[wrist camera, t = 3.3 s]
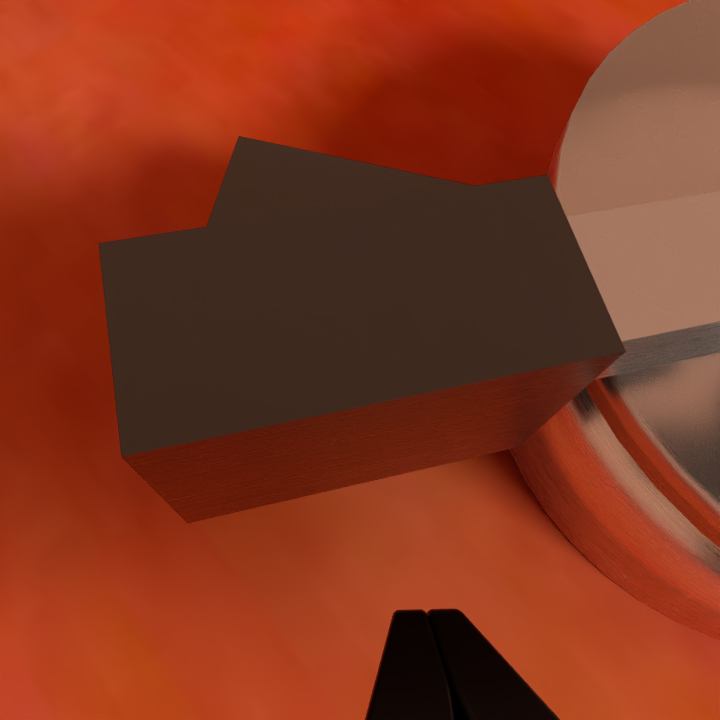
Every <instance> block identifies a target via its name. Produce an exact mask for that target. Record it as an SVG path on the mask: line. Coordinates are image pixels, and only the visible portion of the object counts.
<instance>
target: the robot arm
mask: <svg viewBox="0 0 720 720" xmlns="http://www.w3.org/2000/svg"><path fill="white" fill-rule="evenodd" d="M365 720H560V719H559V718H558V717H557V716H556V715H555V714H554V712H553V711H552V710H551V709H550V708H549V707H548V706H547V705H546V704H545V703H544V701H543V700H542V699H541V698H540V697H539V696H538V695H537V694H536V693H535V692H534V690H533V689H532V688H531V687H530V686H529V685H528V684H527V683H526V682H525V681H524V680H523V678H522V677H521V676H520V675H519V674H518V673H517V672H516V671H515V670H514V669H513V667H512V666H511V665H510V664H509V663H508V662H507V661H506V660H505V659H504V658H503V656H502V655H501V654H500V653H499V652H498V651H497V650H496V649H495V648H494V647H493V646H492V644H491V643H490V642H489V641H488V640H487V639H486V638H485V637H484V636H483V635H482V633H481V632H480V631H479V630H478V629H477V628H476V627H475V626H474V625H473V624H472V622H471V621H470V620H469V619H468V618H467V617H466V616H465V615H464V614H463V613H462V612H461V611H460V610H458V609H431V610H429V611H428V612H427V613H426V612H425V611H424V610H421V609H415V610H397V611H395V612H394V614H393V616H392V620H391V624H390V627H389V631H388V635H387V639H386V642H385V646H384V650H383V654H382V657H381V661H380V665H379V669H378V673H377V676H376V680H375V684H374V688H373V691H372V695H371V699H370V703H369V707H368V710H367V714H366V718H365Z"/></svg>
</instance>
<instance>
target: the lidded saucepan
mask: <svg viewBox="0 0 720 720" xmlns="http://www.w3.org/2000/svg"><path fill="white" fill-rule="evenodd" d="M99 251H100V260H101V269H102V279H103V288H104V297H105V307H106V316H107V325H108V335H109V344H110V353H111V362H112V372H113V381H114V390H115V400H116V409H117V418H118V428H119V437H120V446H121V456H122V458H123V459H124V460H125V461H126V462H127V463H128V464H129V465H130V466H131V467H132V468H133V469H134V470H135V471H136V472H137V473H138V474H139V475H140V476H141V477H142V478H143V479H144V480H145V481H146V482H147V483H148V484H149V485H150V486H151V487H152V488H153V489H154V490H155V491H156V492H157V493H158V494H159V495H160V496H161V497H162V498H163V499H164V500H165V501H166V502H167V503H168V504H169V505H170V506H171V507H172V508H173V509H174V510H175V511H176V512H177V513H178V514H179V515H180V516H181V517H182V518H183V519H184V520H185V521H186V522H187V523H191V522H195V521H199V520H204V519H208V518H212V517H217V516H221V515H225V514H230V513H234V512H239V511H243V510H247V509H252V508H256V507H260V506H265V505H269V504H273V503H278V502H282V501H286V500H291V499H295V498H299V497H304V496H308V495H313V494H317V493H321V492H326V491H330V490H334V489H339V488H343V487H347V486H352V485H356V484H360V483H365V482H369V481H373V480H378V479H382V478H387V477H391V476H395V475H400V474H404V473H408V472H413V471H417V470H421V469H426V468H430V467H434V466H439V465H443V464H447V463H452V462H456V461H460V460H465V459H469V458H474V457H478V456H482V455H487V454H491V453H495V452H500V451H504V450H508V449H513V448H517V447H519V446H520V445H521V444H522V443H524V442H525V441H526V440H527V439H528V438H529V437H530V436H531V435H533V434H534V433H535V432H536V431H537V430H538V429H539V428H540V427H542V426H543V425H544V424H545V423H546V422H547V421H548V420H549V419H551V418H552V417H553V416H554V415H555V414H556V413H557V412H558V411H560V410H561V409H562V408H563V407H564V406H565V405H566V404H567V403H569V402H570V401H571V400H572V399H573V398H574V397H575V396H576V395H578V394H579V393H580V392H581V391H582V390H583V389H584V388H586V390H587V392H588V393H589V395H590V397H591V398H592V400H593V401H594V403H595V405H596V406H597V408H598V409H599V411H600V413H601V414H602V416H603V417H604V419H605V420H606V422H607V424H608V425H609V427H610V428H611V430H612V432H613V433H614V435H615V436H616V438H617V439H618V441H619V442H620V443H621V444H622V446H623V447H624V448H625V450H626V451H627V452H628V453H629V455H630V456H631V457H632V458H633V460H634V461H635V462H636V463H637V465H638V466H639V467H640V468H641V470H642V471H643V472H644V473H645V475H646V476H647V477H648V478H649V480H650V481H651V482H652V483H653V485H654V486H655V487H656V488H657V489H658V490H659V491H660V492H661V493H662V494H663V495H664V496H665V497H666V498H667V499H668V500H669V501H670V502H671V503H672V504H673V505H674V506H675V507H676V508H677V509H678V510H679V511H680V512H681V513H682V514H683V515H684V516H685V517H686V518H687V519H688V520H689V521H690V522H691V523H692V524H693V525H694V526H695V527H696V528H697V529H698V530H699V531H700V532H701V533H702V534H703V535H704V536H706V537H707V538H708V539H709V540H711V541H712V542H713V543H714V544H715V545H717V546H718V547H719V548H720V0H689V1H687V2H685V3H683V4H681V5H678V6H676V7H674V8H672V9H669V10H667V11H665V12H663V13H660V14H659V15H657V16H656V17H654V18H653V19H651V20H649V21H648V22H646V23H645V24H643V25H642V26H640V27H639V28H637V29H636V30H634V31H633V32H631V33H630V34H629V35H628V36H627V37H626V38H625V39H624V40H623V41H622V42H621V43H619V44H618V45H617V46H616V47H615V48H614V49H613V50H612V51H611V52H610V53H609V54H608V55H607V56H606V58H605V59H604V60H603V62H602V63H601V64H600V66H599V67H598V68H597V69H596V71H595V72H594V73H593V75H592V76H591V77H590V79H589V80H588V82H587V84H586V86H585V88H584V90H583V92H582V94H581V96H580V98H579V100H578V102H577V104H576V106H575V108H574V110H573V112H572V114H571V116H570V118H569V119H568V121H567V123H566V125H565V127H564V129H563V131H562V133H561V135H560V137H559V139H558V141H557V143H556V145H555V148H554V151H553V154H552V158H551V161H550V164H549V168H548V171H547V174H546V175H543V176H536V177H530V178H523V179H516V180H510V181H503V182H497V183H490V184H484V185H477V186H471V187H464V188H458V189H451V190H444V191H438V192H431V193H425V194H418V195H412V196H405V197H399V198H392V199H385V200H379V201H372V202H366V203H359V204H353V205H346V206H340V207H333V208H327V209H320V210H313V211H307V212H300V213H294V214H287V215H281V216H274V217H268V218H261V219H255V220H248V221H241V222H235V223H228V224H222V225H215V226H209V227H202V228H196V229H189V230H183V231H176V232H169V233H163V234H156V235H150V236H143V237H137V238H130V239H124V240H117V241H111V242H104V243H99Z"/></svg>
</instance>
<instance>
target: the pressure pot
mask: <svg viewBox="0 0 720 720" xmlns="http://www.w3.org/2000/svg"><path fill="white" fill-rule="evenodd" d="M471 186H473V185H468V184H463V183H458V182H454V181H449V180H444V179H440V178H435V177H430V176H425V175H421V174H416V173H411V172H406V171H402V170H397V169H392V168H387V167H383V166H378V165H373V164H369V163H364V162H359V161H354V160H350V159H345V158H340V157H335V156H331V155H326V154H321V153H316V152H312V151H307V150H302V149H298V148H293V147H288V146H283V145H279V144H274V143H269V142H264V141H260V140H255V139H250V138H245V137H241V136H239V137H238V140H237V143H236V146H235V148H234V151H233V154H232V157H231V160H230V162H229V165H228V168H227V171H226V174H225V176H224V179H223V182H222V185H221V188H220V190H219V193H218V196H217V199H216V202H215V204H214V207H213V210H212V213H211V216H210V218H209V221H208V224H207V227H209V226H215V225H222V224H228V223H235V222H241V221H248V220H255V219H261V218H268V217H274V216H281V215H287V214H294V213H300V212H307V211H313V210H320V209H327V208H333V207H340V206H346V205H353V204H359V203H366V202H372V201H379V200H385V199H392V198H399V197H405V196H412V195H418V194H425V193H431V192H438V191H444V190H451V189H458V188H464V187H471ZM509 451H510V453H511V454H512V456H513V458H514V460H515V462H516V464H517V466H518V468H519V470H520V472H521V474H522V476H523V478H524V480H525V482H526V483H527V485H528V486H529V488H530V489H531V491H532V492H533V494H534V495H535V497H536V498H537V500H538V501H539V503H540V504H541V506H542V507H543V509H544V510H545V512H546V513H547V515H548V516H549V517H550V518H551V520H552V521H553V522H554V523H555V524H556V525H557V527H558V528H559V529H560V530H561V531H562V533H563V534H564V535H565V536H566V537H567V538H568V540H569V541H570V542H571V543H572V544H573V545H574V547H575V548H577V549H578V550H579V551H580V552H581V553H582V554H583V555H584V556H585V557H586V558H587V559H588V560H589V561H590V562H591V563H593V564H594V565H595V566H596V567H597V568H598V569H599V570H600V571H601V572H602V573H603V574H604V575H605V576H607V577H608V578H610V579H611V580H612V581H614V582H615V583H616V584H618V585H619V586H620V587H622V588H623V589H624V590H626V591H627V592H628V593H630V594H631V595H632V596H634V597H635V598H636V599H638V600H639V601H641V602H643V603H644V604H646V605H648V606H650V607H651V608H653V609H655V610H656V611H658V612H660V613H662V614H663V615H665V616H667V617H669V618H670V619H672V620H674V621H676V622H678V623H680V624H683V625H685V626H687V627H690V628H692V629H694V630H697V631H699V632H701V633H704V634H706V635H708V636H711V637H713V638H716V639H720V548H719V547H718V546H717V545H715V544H714V543H713V542H712V541H711V540H709V539H708V538H707V537H706V536H704V535H703V534H702V533H701V532H700V531H699V530H698V529H697V528H696V527H695V526H694V525H693V524H692V523H691V522H690V521H689V520H688V519H687V518H686V517H685V516H684V515H683V514H682V513H681V512H680V511H679V510H678V509H677V508H676V507H675V506H674V505H673V504H672V503H671V502H670V501H669V500H668V499H667V498H666V497H665V496H664V495H663V494H662V493H661V492H660V491H659V490H658V489H657V488H656V487H655V486H654V485H653V483H652V482H651V481H650V480H649V478H648V477H647V476H646V475H645V473H644V472H643V471H642V470H641V468H640V467H639V466H638V465H637V463H636V462H635V461H634V460H633V458H632V457H631V456H630V455H629V453H628V452H627V451H626V450H625V448H624V447H623V446H622V444H621V443H620V442H619V441H618V439H617V438H616V436H615V435H614V433H613V432H612V430H611V428H610V427H609V425H608V424H607V422H606V420H605V419H604V417H603V416H602V414H601V413H600V411H599V409H598V408H597V406H596V405H595V403H594V401H593V400H592V398H591V397H590V395H589V393H588V392H587V390H586V388H584V389H583V390H582V391H581V392H580V393H579V394H578V395H576V396H575V397H574V398H573V399H572V400H571V401H570V402H569V403H567V404H566V405H565V406H564V407H563V408H562V409H561V410H560V411H558V412H557V413H556V414H555V415H554V416H553V417H552V418H551V419H549V420H548V421H547V422H546V423H545V424H544V425H543V426H542V427H540V428H539V429H538V430H537V431H536V432H535V433H534V434H533V435H531V436H530V437H529V438H528V439H527V440H526V441H525V442H524V443H522V444H521V445H520V446H519V447H517V448H513V449H509Z"/></svg>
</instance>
